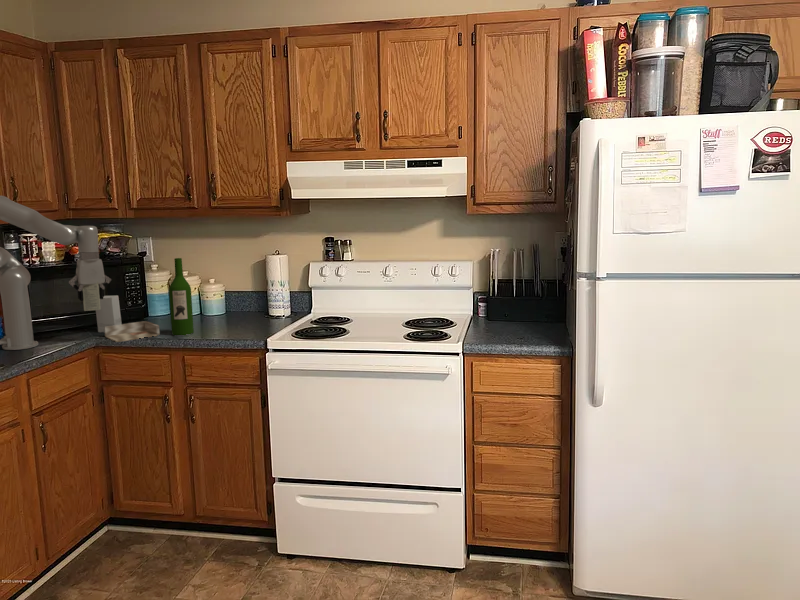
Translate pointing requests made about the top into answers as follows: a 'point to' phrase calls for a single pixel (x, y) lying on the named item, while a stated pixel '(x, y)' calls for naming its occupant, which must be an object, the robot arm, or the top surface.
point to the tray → (131, 331)
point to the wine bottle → (180, 302)
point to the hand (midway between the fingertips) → (91, 299)
